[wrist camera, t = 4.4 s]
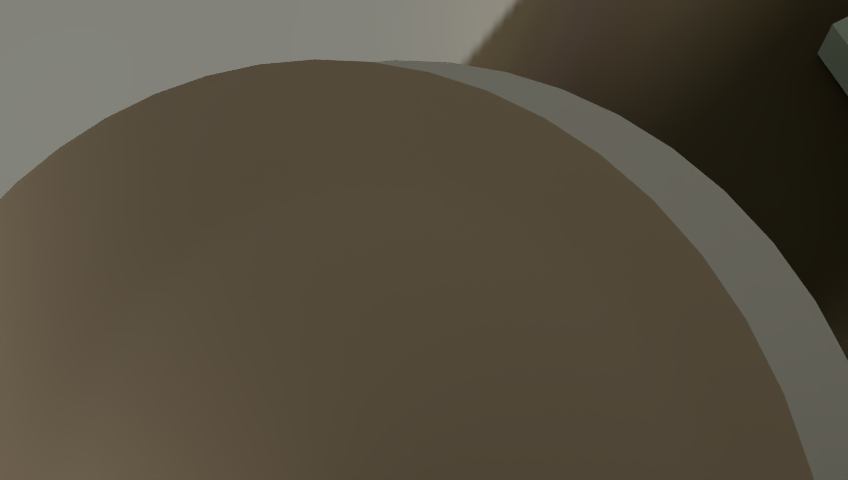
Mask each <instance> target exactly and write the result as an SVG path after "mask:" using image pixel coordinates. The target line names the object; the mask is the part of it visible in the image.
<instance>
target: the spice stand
mask: <svg viewBox="0 0 848 480" xmlns="http://www.w3.org/2000/svg"><path fill="white" fill-rule="evenodd" d="M817 54H818V55H819V57H820V58H821V59H822V61H823V62H824V64H825V65H826V66H827V68H828V69H829V71H830V72H831V73H832V75H833V76H834V78H835V79H836V80H837V82H838V83H839V85H840V86H841V87H842V89H843V90H844V91H845V93H846V94H847V96H848V17H846V18H844V19H842V20H840V21H838V22H836V23H834V24H832V26H831V28H830V30H829V32H828V34H827V36H826V38H825V40H824V42H823V44H822V45H821V47H820V49H819V51H818V53H817Z"/></svg>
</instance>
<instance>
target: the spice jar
mask: <svg viewBox="0 0 848 480" xmlns="http://www.w3.org/2000/svg"><path fill="white" fill-rule="evenodd" d="M0 480H848V360H847V358H846V356H845V354H844V353H843V351H842V349H841V347H840V345H839V343H838V341H837V340H836V338H835V336H834V334H833V332H832V330H831V329H830V327H829V325H828V323H827V321H826V319H825V317H824V316H823V314H822V312H821V310H820V308H819V306H818V305H817V303H816V301H815V300H814V298H813V297H812V296H811V294H810V293H809V291H808V290H807V289H806V287H805V286H804V285H803V283H802V282H801V280H800V279H799V278H798V276H797V275H796V273H795V272H794V271H793V269H792V268H791V267H790V265H789V264H788V262H787V261H786V260H785V258H784V257H783V256H782V254H781V253H780V251H779V250H778V249H777V247H776V246H775V244H774V243H773V242H772V241H771V240H770V239H769V238H768V237H767V235H766V234H765V233H764V232H763V231H762V230H761V229H760V228H759V227H758V226H757V225H756V224H755V223H754V222H753V221H752V220H751V218H750V217H749V216H748V215H747V214H746V213H745V212H744V211H743V210H742V209H741V208H740V207H739V206H738V205H737V204H736V203H735V201H734V200H733V199H732V198H731V197H730V196H729V195H728V194H727V193H726V192H725V191H724V190H723V189H722V188H720V187H719V186H718V185H717V184H715V183H714V182H713V181H712V180H711V179H709V178H708V177H707V176H706V175H704V174H703V173H702V172H701V171H700V170H698V169H697V168H696V167H695V166H694V165H692V164H691V163H690V162H689V161H687V160H686V159H685V158H684V157H683V156H681V155H680V154H679V153H678V152H676V151H675V150H674V149H673V148H671V147H669V146H668V145H666V144H665V143H663V142H661V141H660V140H658V139H657V138H655V137H653V136H652V135H650V134H649V133H647V132H645V131H644V130H642V129H641V128H639V127H637V126H636V125H634V124H633V123H631V122H629V121H628V120H626V119H624V118H623V117H621V116H620V115H618V114H616V113H613V112H611V111H609V110H607V109H605V108H603V107H600V106H598V105H596V104H594V103H592V102H589V101H587V100H585V99H583V98H581V97H578V96H576V95H574V94H572V93H570V92H567V91H565V90H563V89H560V88H556V87H553V86H550V85H547V84H543V83H540V82H537V81H534V80H530V79H527V78H524V77H521V76H517V75H514V74H511V73H508V72H502V71H497V70H491V69H485V68H479V67H473V66H467V65H461V64H455V63H446V62H421V61H397V60H395V61H383V62H359V61H358V62H357V61H356V62H355V61H334V60H306V61H294V62H283V63H271V64H261V65H255V66H251V67H246V68H241V69H237V70H232V71H228V72H223V73H219V74H214V75H210V76H205V77H202V78H200V79H197V80H194V81H191V82H188V83H186V84H183V85H180V86H177V87H174V88H171V89H168V90H166V91H163V92H160V93H157V94H154V95H152V96H150V97H148V98H146V99H144V100H142V101H140V102H138V103H136V104H134V105H132V106H130V107H128V108H126V109H124V110H122V111H120V112H118V113H116V114H114V115H111V116H109V117H107V118H106V119H104V120H102V121H101V122H99V123H98V124H96V125H95V126H93V127H92V128H90V129H88V130H87V131H85V132H84V133H82V134H81V135H79V136H77V137H76V138H74V139H73V140H71V141H70V142H68V143H66V144H65V145H63V146H62V147H60V148H59V149H58V150H56V151H55V152H54V153H53V154H52V155H50V156H49V157H48V158H47V159H45V160H44V161H43V162H42V163H40V164H39V165H38V166H37V167H36V168H34V169H33V170H32V171H31V172H29V173H28V174H27V175H26V176H24V177H23V178H22V179H21V180H19V181H18V182H17V183H16V184H15V185H14V186H13V187H12V188H11V189H10V190H9V191H8V192H7V193H6V194H5V195H4V196H3V197H2V198H1V199H0Z"/></svg>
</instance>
